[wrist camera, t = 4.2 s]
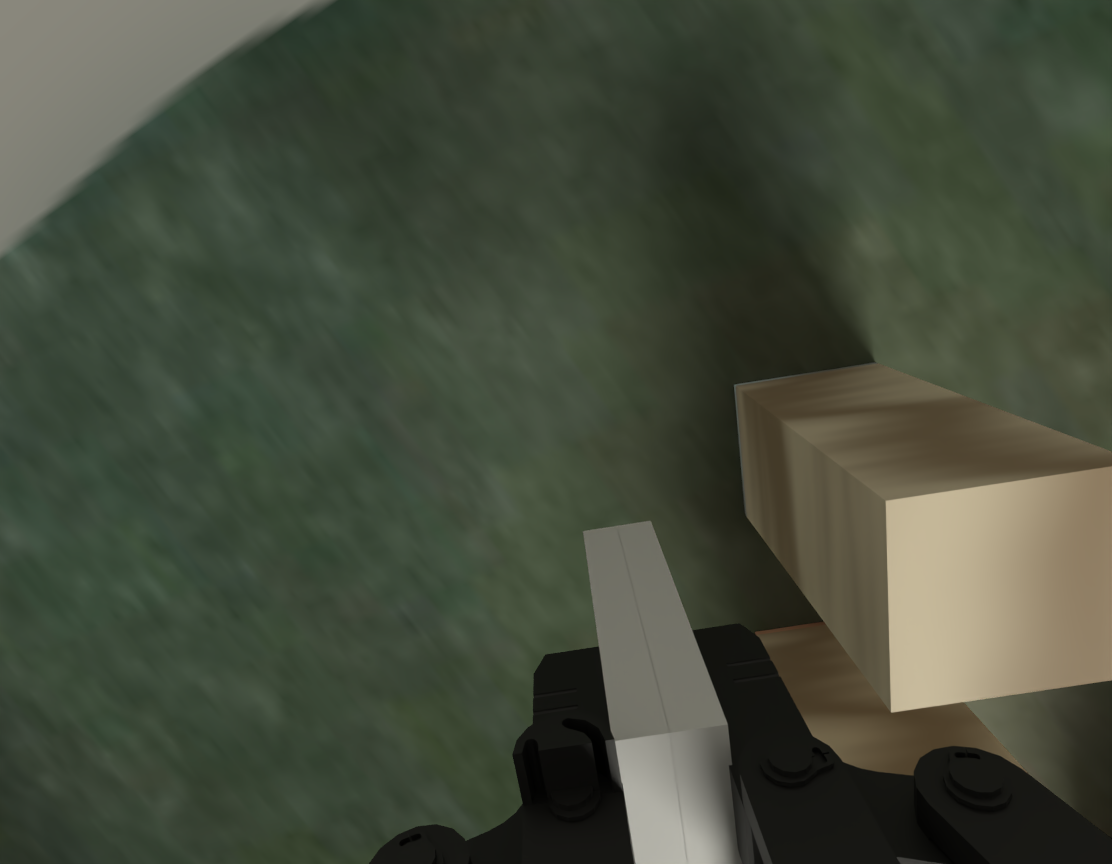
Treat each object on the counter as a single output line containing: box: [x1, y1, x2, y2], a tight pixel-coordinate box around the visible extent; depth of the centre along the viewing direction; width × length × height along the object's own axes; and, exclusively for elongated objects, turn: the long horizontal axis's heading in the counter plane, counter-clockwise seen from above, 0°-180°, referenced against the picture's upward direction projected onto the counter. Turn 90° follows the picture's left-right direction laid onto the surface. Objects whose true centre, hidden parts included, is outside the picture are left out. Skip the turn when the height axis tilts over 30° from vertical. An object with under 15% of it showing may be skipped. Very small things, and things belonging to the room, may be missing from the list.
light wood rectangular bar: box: [734, 362, 1112, 713], centre depth 18 cm, size 4×4×10 cm
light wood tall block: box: [755, 622, 1027, 776], centre depth 20 cm, size 4×4×10 cm
